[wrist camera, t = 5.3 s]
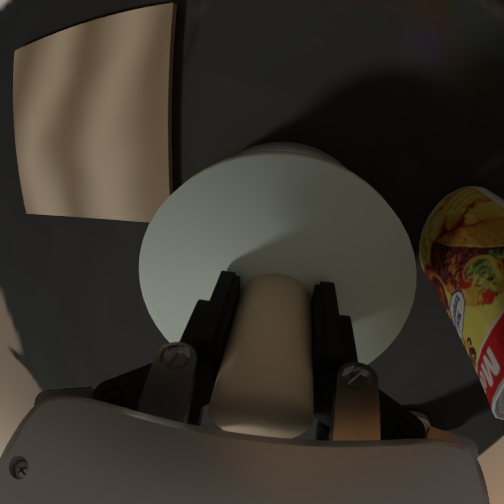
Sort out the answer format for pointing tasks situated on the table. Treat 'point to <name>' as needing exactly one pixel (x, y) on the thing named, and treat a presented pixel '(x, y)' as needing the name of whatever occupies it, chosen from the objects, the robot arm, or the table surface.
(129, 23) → the mat
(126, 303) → the table surface
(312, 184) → the lid
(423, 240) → the canned food
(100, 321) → the table surface
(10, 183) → the table surface
